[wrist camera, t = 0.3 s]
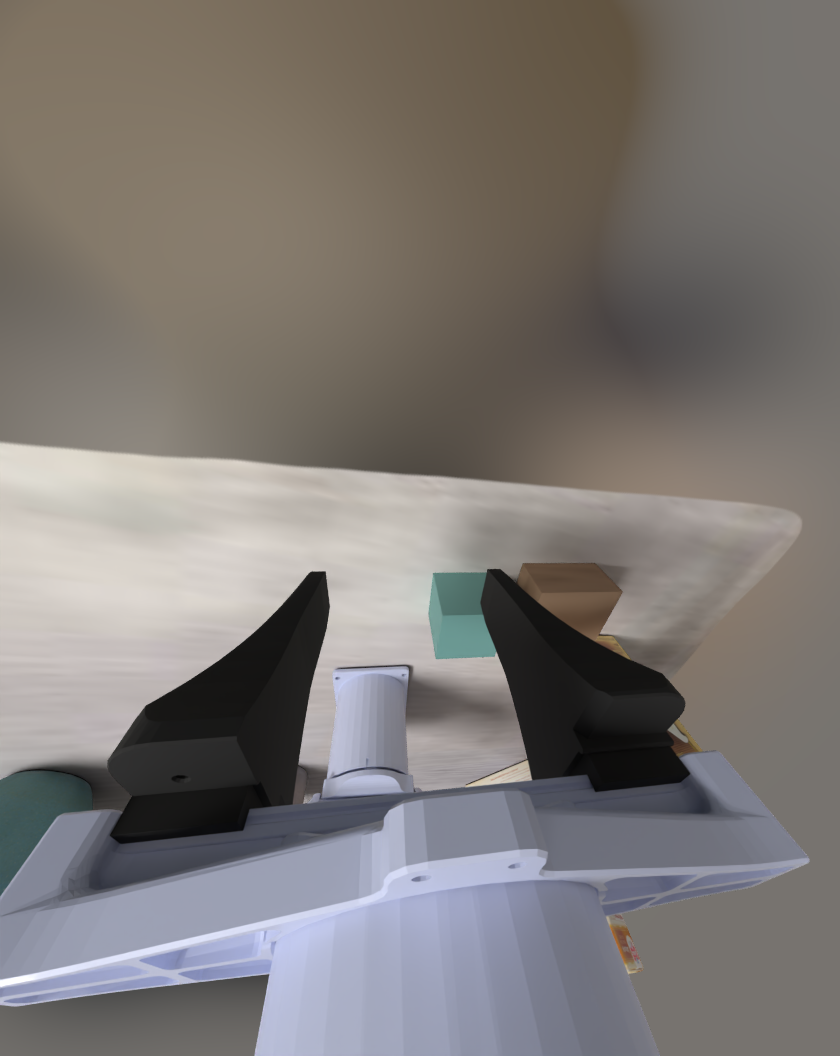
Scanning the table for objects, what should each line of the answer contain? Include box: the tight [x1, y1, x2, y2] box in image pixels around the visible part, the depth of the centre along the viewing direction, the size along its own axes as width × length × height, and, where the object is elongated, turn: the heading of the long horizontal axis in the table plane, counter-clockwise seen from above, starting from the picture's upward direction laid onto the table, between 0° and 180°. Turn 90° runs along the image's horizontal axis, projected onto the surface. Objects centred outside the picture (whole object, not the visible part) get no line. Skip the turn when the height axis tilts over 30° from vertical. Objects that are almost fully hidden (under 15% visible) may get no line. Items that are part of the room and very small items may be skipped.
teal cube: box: [429, 573, 496, 659], centre depth 25 cm, size 5×5×5 cm
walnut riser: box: [517, 563, 623, 641], centre depth 27 cm, size 7×7×4 cm
